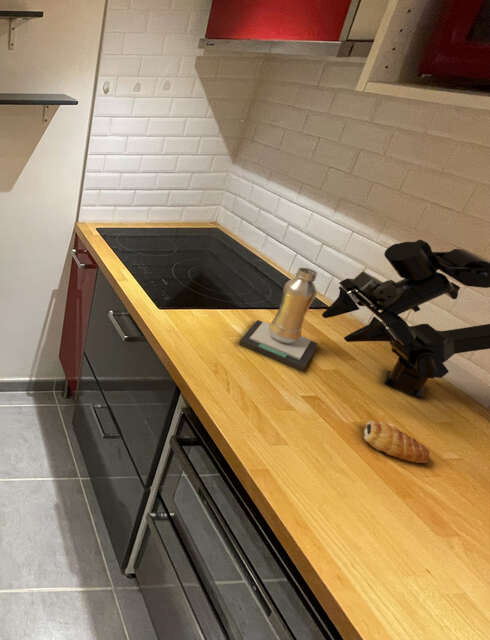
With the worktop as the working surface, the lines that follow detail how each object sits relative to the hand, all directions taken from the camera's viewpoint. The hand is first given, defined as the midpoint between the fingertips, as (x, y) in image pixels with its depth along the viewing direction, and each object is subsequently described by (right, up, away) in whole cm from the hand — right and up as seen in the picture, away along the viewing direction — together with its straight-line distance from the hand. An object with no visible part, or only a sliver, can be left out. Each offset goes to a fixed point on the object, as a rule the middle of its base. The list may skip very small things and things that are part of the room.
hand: (333, 327), depth 101 cm
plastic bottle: (-1, -6, +14) cm, 16 cm away
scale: (-2, -8, +15) cm, 17 cm away
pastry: (-1, -21, -13) cm, 25 cm away
